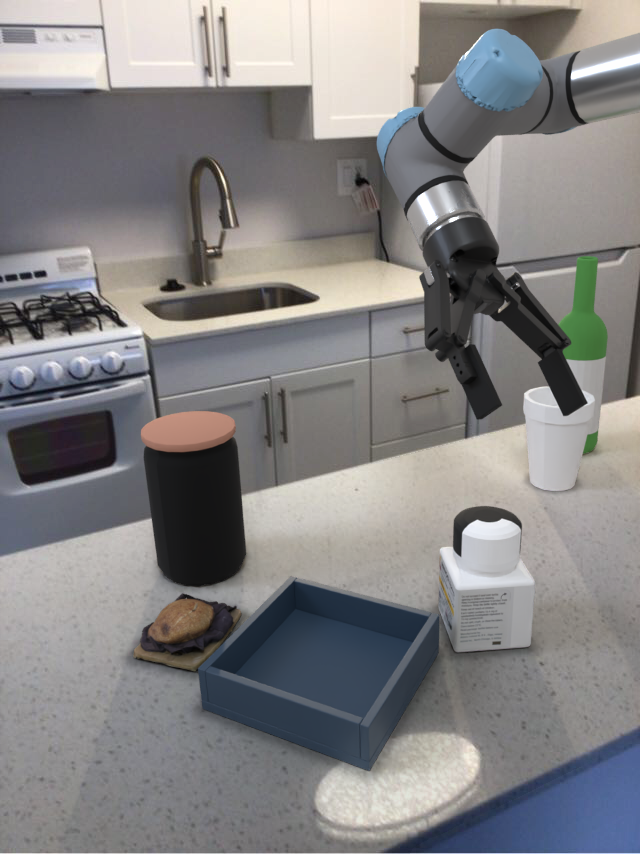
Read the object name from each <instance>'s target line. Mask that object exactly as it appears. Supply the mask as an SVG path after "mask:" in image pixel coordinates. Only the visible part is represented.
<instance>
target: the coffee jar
mask: <svg viewBox="0 0 640 854" xmlns="http://www.w3.org/2000/svg"><path fill="white" fill-rule="evenodd" d="M235 421H236V420H235V419H234V418H232V417H231V416H229V415H227V414H224V413H221V412H216V411H210V410H209V411H208V410H189V411H181V412H175V413H171V414H166V415H163V416H160V417H157V418H154V419H153V420H151V421H149V422H148V423H146V424H144V426H143V427H142V428H141V430H140V438H141V442H142V443H143V444H144V445H145V447H144V449H143V464H144V472H145V480H146V487H147V496H148V501H149V502H148V503H149V509H150V517H151V525H152V533H153V540H154V541H153V542H154V548H155V554H156V564H157V567H158V568H159V570H160V571H161V572H162V574H163V575H164V576H166V578H167V579H168V580H170V581H171V582H173V583H175V584H178V585H182V586H186V587H203V586H211V585H215V584H217V583H220V582H223V581H226V580H227V579H229V578H231V577H233V576H234V575H235V574H236V573H237V572H238V571H239V570H240V568H241V566H242V565H243V563H244V561H245V559H246V556H247V545H246V532H245V520H244V518H245V517H244V506H243V496H242V484H241V483H242V482H241V473H240V472H241V471H240V460H239V459H240V458H239V448H238V444H237V440H236V438H235V437H234V435H235V433H236V431H237V430H236V429H237V426H236V422H235Z"/></svg>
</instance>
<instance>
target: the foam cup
mask: <svg viewBox="0 0 640 854" xmlns="http://www.w3.org/2000/svg"><path fill="white" fill-rule="evenodd" d="M582 392H583V394H584V396H585V398H586V400H587V402H588V404H586V405H584V406H583V407H581V408H580V409H578V410H576V411H575V412H573V413H572V414H570V415H568V416H563V414H562V412H561V410H560V408H559V406H558V404H557V402H556V400H555V398H554V396H553V394H552V391H551V389H550V387H549V385H548V386H539V387H534V388H530V389H528V390H526V391H525V392H524V393H523V404H522V405H523V406H522V409H523V410H522V411H523V415H524V418H525V420H524V421H525V431H526V432H525V433H526V448H527V461H528V462H527V463H528V473H529V474H528V475H529V484H531V485H533V486H534V488H538V489H540V490H543V491H550V492H564V491H568V490H571V489H573V488H574V486H575V485H576V482H577V478H578V474H579V471H580V466H581V462H582V458H583V455H584V454H583V450H584V446H585V442H586V438H587V434H588V430H589V426H590V422H591V418H592V417H593V416H594V406H595V399H594V396H593V395H591V394H590V393H588V392H586V391H583V390H582Z"/></svg>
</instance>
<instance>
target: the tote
mask: <svg viewBox="0 0 640 854" xmlns="http://www.w3.org/2000/svg"><path fill="white" fill-rule="evenodd" d="M440 617H441V614H438V613H435V612H431V611H427V610H424V609H420V608H416V607H412V606H408V605H404V604H401V603H397V602H393V601H389V600H386V599H381V598H377V597H373V596H369V595H366V594H362V593H358V592H355V591H350V590H347V589H343V588H341V587H335V586H332V585H327V584H325V583H319V582H317V581H313V580H308V579H304V578H301V577H297V576H294V575H290V576H289V577H288V578H287V579H286V580H285V581H284V582H283V583H282V584H281V585H280V586H279V587H278V588H277V589H276V590H275V591H274V592H273V593H272V594H271V595H270V596H269V597H268V598H267V599H266V600H265V601H264V602H263V603H262V604H261V605H260V606H259V607H258V608H257V609H256V610H255V611H254V612H253V613H252V614H251V615H250V616H249V617H248V618H247V619H246V620H245V621H244V622H243V623H242V624H241V625H240V626H238V628H237V629H236V630H234V632H232V634H231V635H230V636H229V637H227V638H226V639H225V640H224V642H223V644H221V645H219V646H220V647H219V648H218V649H217V650H216V651H215V652H214V653H212V655H211V656H210V657H209V658H208V659H207V660H206V661H205V662H204V663H203V664H202V665H201V666H200V667H199V668H198V669H197V674H198V683H199V688H200V689H199V690H200V699H201V707H202V709H203V710H204V711H207V712H211V713H213V714H216V715H218V716H221V717H224V718H226V719H229V720H232V721H234V722H237V723H240V724H243V725H244V726H248V727H251V728H252V729H255V730H258V731H261V732H263V733H266V734H269V735H272V736H274V737H277V738H280V739H283V740H284V741H288V742H291V743H293V744H296V745H299V746H301V747H304V748H306V749H309V750H311V751H314V752H317V753H320V754H322V755H326V756H328V757H331V758H333V759H336V760H339V761H342V762H344V763H346V764H350V765H352V766H355V767H358V768H360V769H363V770H365V771H368V772H370V771H371V769H372V767H373V766H374V764H375V763H376V761H377V759H378V757H379V756H380V754H381V752H382V751H383V749H384V747H385V746H386V744H387V742H388V740H389V739H390V737H391V735H392V733H393V732H394V730H395V728H396V726H397V725H398V724H399V721H400V720H401V718H402V716H403V714H404V713H405V711H406V709H407V708H408V706H409V704H410V703H411V701H412V699H413V698H414V695H415V694H416V692H417V690H418V689H419V687H420V685H421V683H423V680H424V679H425V677H426V675H427V673H428V672H429V670H430V668H431V667H432V665H433V663H434V662H435V660H436V658H437V656H438V655H439V653H440V620H441V619H440Z"/></svg>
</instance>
